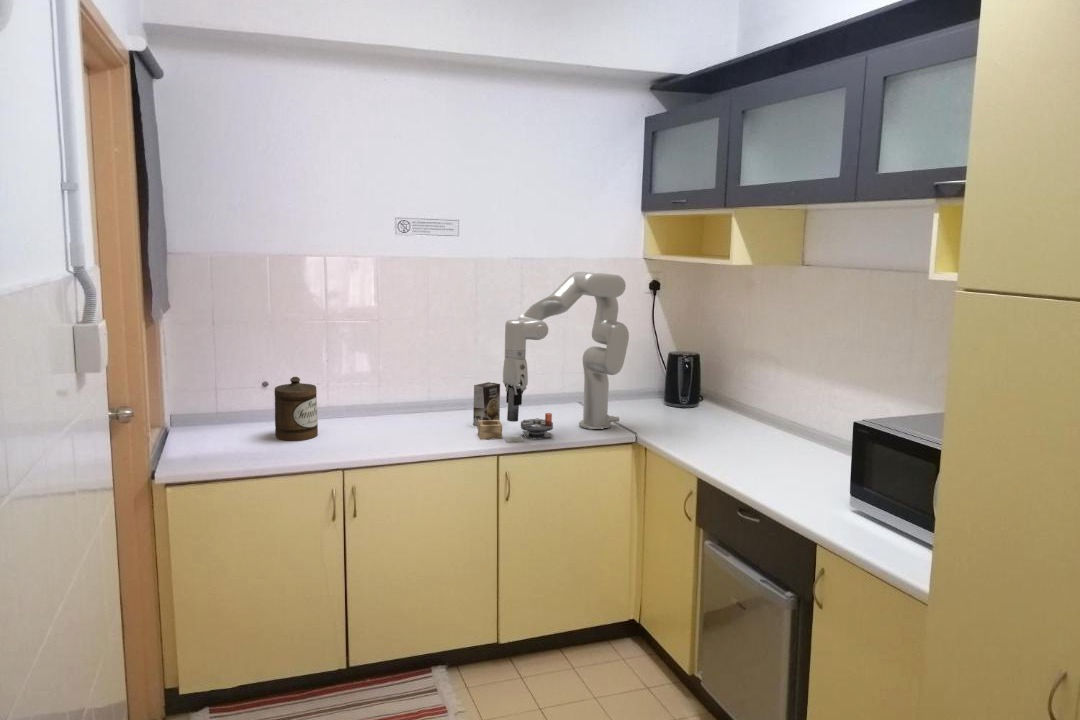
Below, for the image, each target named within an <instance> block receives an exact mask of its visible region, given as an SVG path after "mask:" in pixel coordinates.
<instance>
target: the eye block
mask: <svg viewBox="0 0 1080 720" xmlns="http://www.w3.org/2000/svg"><path fill="white" fill-rule="evenodd" d="M478 434H479V435H478ZM477 435H478V437H479V439H480V440H491V439H490V438H501V439H503V425H502V422H501V420H500V421H499V420H479V421H478V426H477Z"/></svg>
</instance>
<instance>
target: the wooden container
mask: <svg viewBox="0 0 1080 720" xmlns="http://www.w3.org/2000/svg"><path fill="white" fill-rule="evenodd" d="M289 381H290V382H291V383H286V384H281V385H277V386H276V387H274V424H275V425H274V426H275V432H274V433H275V438H276V439H277V440H279V441H284V442H298V441H306V440H307V441H308V440H311V439H314V438H315V437H317V436H318V434H319V433H318V431H319V428H318V425H319V424H318V423H319V419H318V404H317V403H318V400H317V398H318V397H317V386H316V385H315V384H311V383H301V378H300V377H298V376H292V377H291V378H290V380H289Z"/></svg>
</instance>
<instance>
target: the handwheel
mask: <svg viewBox="0 0 1080 720" xmlns="http://www.w3.org/2000/svg"><path fill="white" fill-rule="evenodd" d="M520 429H521V430H522V431H530V432H545V431H547V432H549V431H552V430H553V429H554V422H553V414H552V413H551V412H546V413H545V418H544V419H541V418H538V417H537V418H536V417H535V418H530V419H523V420H522V421H521V422H520Z"/></svg>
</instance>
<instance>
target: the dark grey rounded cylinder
mask: <svg viewBox="0 0 1080 720" xmlns="http://www.w3.org/2000/svg"><path fill="white" fill-rule="evenodd" d="M517 389H519V388H517ZM514 395H515V389H514V387H509V395H508V403H507V413H506V420H507V422H511V423H514V422H515V423H516V422H518V421H519V413H520V412H519V409H520V405H517V406H514Z"/></svg>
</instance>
